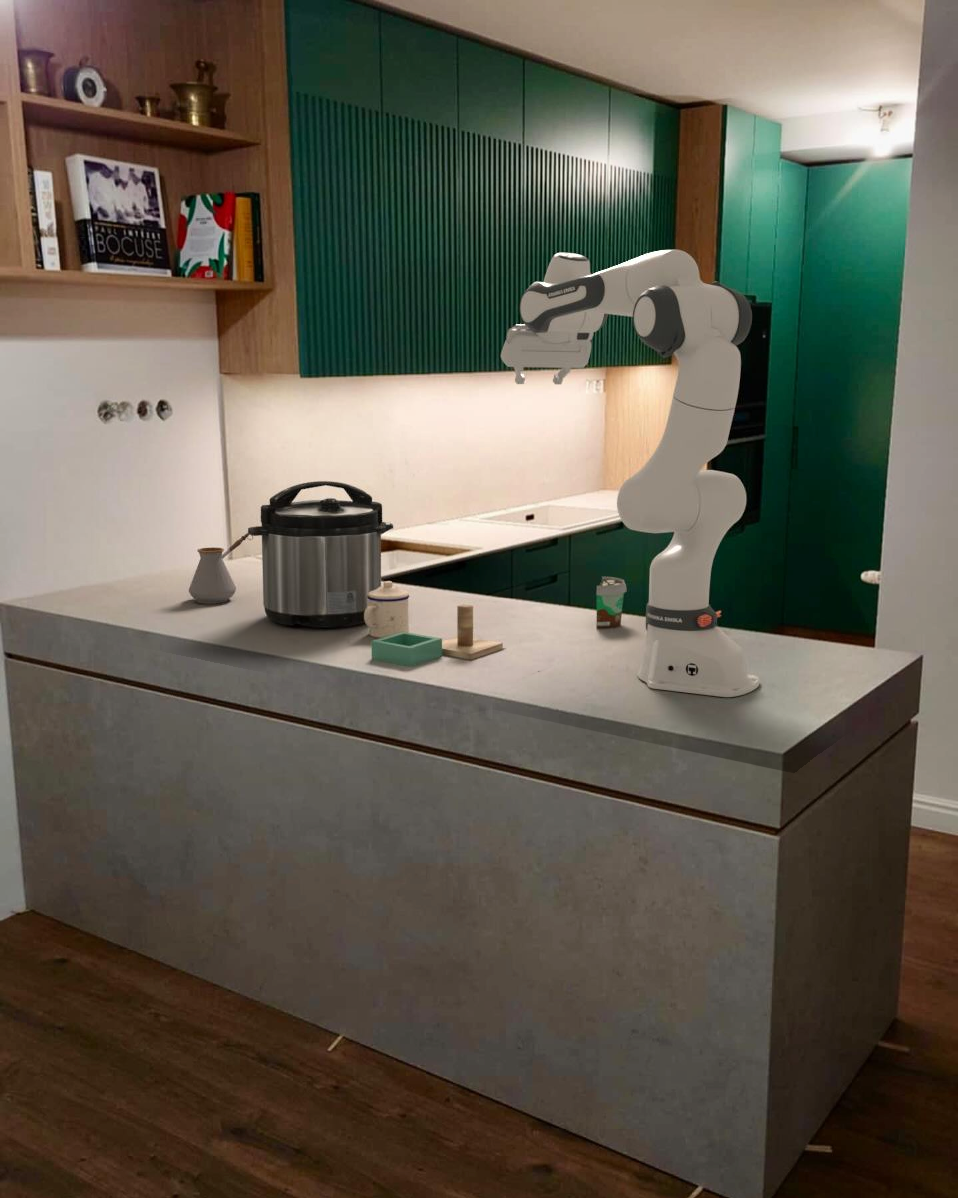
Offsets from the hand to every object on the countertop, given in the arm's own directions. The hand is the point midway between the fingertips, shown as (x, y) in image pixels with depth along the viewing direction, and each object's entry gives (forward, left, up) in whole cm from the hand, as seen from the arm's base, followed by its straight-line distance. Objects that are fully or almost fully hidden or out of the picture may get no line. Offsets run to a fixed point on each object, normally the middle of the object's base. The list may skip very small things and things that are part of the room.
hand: (538, 383), depth 263 cm
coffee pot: (+77, +25, -54) cm, 97 cm away
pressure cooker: (+41, +28, -54) cm, 73 cm away
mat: (-5, +34, -54) cm, 64 cm away
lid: (-5, +34, -53) cm, 63 cm away
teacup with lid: (+18, +33, -54) cm, 65 cm away
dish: (+1, +46, -54) cm, 70 cm away
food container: (-17, -5, -54) cm, 57 cm away
